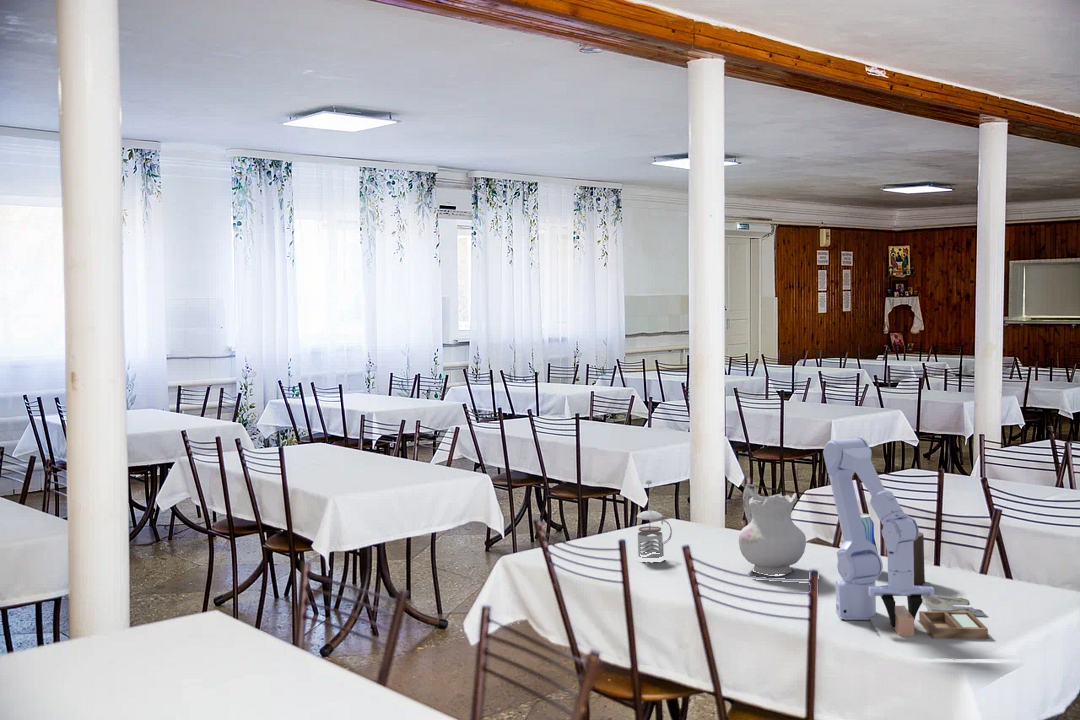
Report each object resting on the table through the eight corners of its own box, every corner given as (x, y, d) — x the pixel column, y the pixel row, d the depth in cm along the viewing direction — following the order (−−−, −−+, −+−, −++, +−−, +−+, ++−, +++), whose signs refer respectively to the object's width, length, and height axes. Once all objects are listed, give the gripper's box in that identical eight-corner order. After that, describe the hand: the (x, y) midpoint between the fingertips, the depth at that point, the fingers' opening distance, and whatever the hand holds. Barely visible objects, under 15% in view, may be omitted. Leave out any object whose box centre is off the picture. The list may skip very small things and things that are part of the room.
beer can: (880, 570, 298) (879, 516, 297) (857, 574, 295) (856, 519, 294) (861, 564, 306) (860, 511, 305) (838, 568, 303) (837, 514, 302)
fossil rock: (918, 601, 269) (918, 592, 269) (979, 603, 266) (979, 593, 265) (929, 620, 252) (929, 611, 251) (995, 623, 248) (995, 613, 248)
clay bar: (899, 639, 237) (898, 618, 237) (890, 626, 247) (889, 605, 247) (914, 639, 237) (914, 618, 236) (904, 626, 247) (904, 605, 246)
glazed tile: (963, 635, 235) (963, 627, 235) (951, 622, 245) (951, 614, 245) (978, 636, 235) (978, 627, 235) (966, 622, 245) (966, 614, 245)
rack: (932, 641, 234) (931, 628, 234) (917, 623, 248) (917, 611, 248) (989, 642, 233) (989, 628, 233) (972, 623, 246) (972, 611, 246)
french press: (634, 556, 326) (631, 477, 325) (670, 555, 325) (668, 476, 324) (635, 563, 316) (633, 482, 315) (673, 562, 315) (671, 481, 314)
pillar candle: (930, 586, 280) (929, 531, 280) (894, 587, 280) (893, 532, 280) (916, 577, 290) (916, 524, 289) (882, 578, 290) (881, 525, 289)
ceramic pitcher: (720, 573, 305) (714, 491, 302) (760, 556, 317) (754, 478, 315) (781, 587, 288) (776, 500, 286) (820, 568, 301) (815, 485, 299)
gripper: (872, 573, 238) (873, 631, 239) (937, 573, 236) (938, 631, 237) (866, 566, 245) (867, 622, 246) (929, 565, 243) (930, 622, 244)
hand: (901, 626), depth 242 cm, fingers closed on clay bar, 3 cm apart
